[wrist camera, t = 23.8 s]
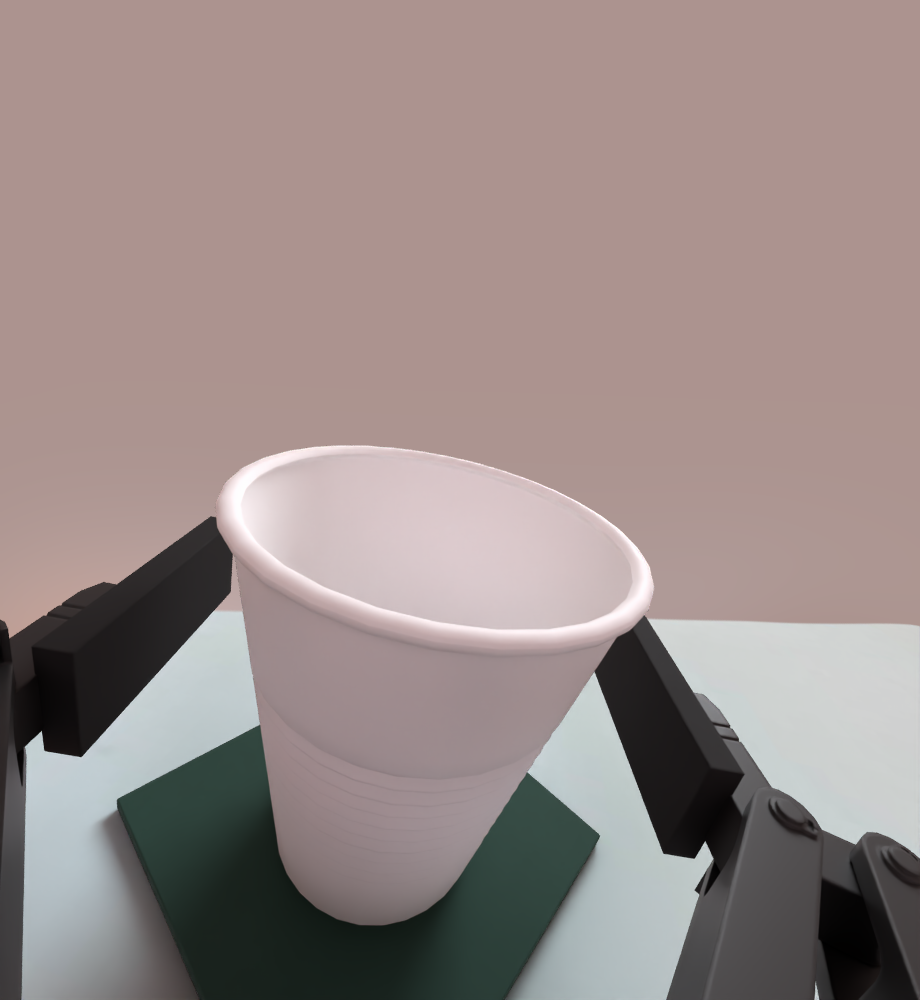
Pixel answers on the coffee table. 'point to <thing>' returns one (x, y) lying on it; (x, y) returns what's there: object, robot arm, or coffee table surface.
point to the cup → (411, 654)
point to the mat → (313, 933)
